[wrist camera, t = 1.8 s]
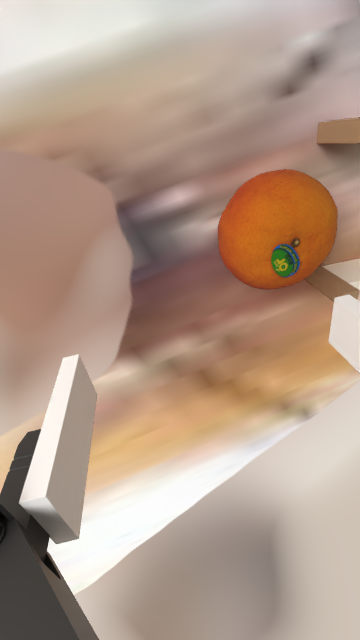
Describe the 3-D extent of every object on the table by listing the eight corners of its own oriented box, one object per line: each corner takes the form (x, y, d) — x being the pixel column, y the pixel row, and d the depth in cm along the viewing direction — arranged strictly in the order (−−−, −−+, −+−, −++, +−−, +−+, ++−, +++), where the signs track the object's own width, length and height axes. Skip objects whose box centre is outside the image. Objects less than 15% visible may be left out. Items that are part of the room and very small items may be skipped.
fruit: (256, 141, 27) (299, 140, 20) (326, 207, 31) (381, 225, 24) (189, 238, 31) (206, 266, 24) (259, 286, 35) (290, 321, 28)
